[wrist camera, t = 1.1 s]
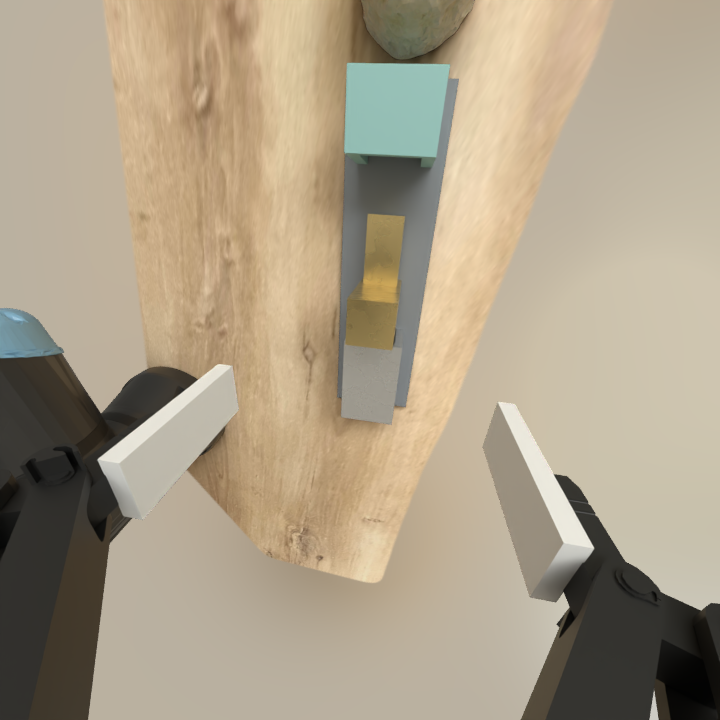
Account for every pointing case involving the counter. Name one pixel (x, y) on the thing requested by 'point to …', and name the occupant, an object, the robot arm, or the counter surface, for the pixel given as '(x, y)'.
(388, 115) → the socket
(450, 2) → the sponge
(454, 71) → the counter surface
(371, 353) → the grey rectangular sleeve
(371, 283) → the gold stepped block
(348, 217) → the slate board
